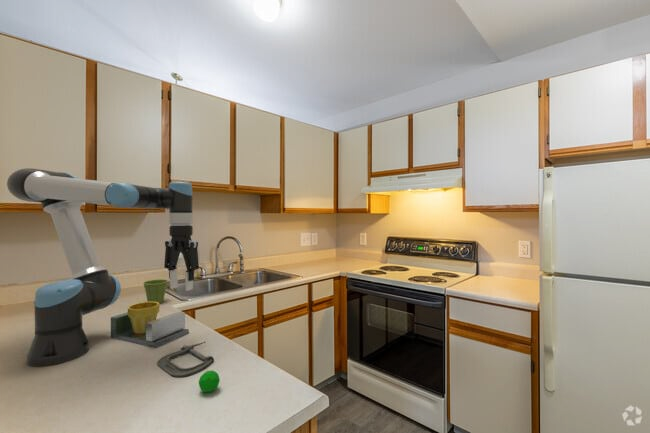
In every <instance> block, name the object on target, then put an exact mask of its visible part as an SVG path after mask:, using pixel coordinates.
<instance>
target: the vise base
mask: <svg viewBox="0 0 650 433" xmlns="http://www.w3.org/2000/svg"><path fill="white" fill-rule="evenodd" d="M189 331H190V330H189V329H188V328H183V329H181V330H179V331H176V332H174V333H171V334H169V335H167V336H164V337H162V338H159V339H157V340H155V341H147V340H146V333H143V334H136V333H134V331H133V327H132V323H131V319H130V317H128V311H126V312H124V313H122V314H118V315H117V314H116V315H114V316H111V317H110V338H112V339H115V340H119V341H120V340H121V341H125V342H130V343H134V344H138V345H143V346H147V347H151V348H155V349H156V348H158V347H161V346H163V345H166V344H168V343H170V342H173V341H174V340H177V339H180V338H181V337H183V336H186V335H188V334H190V332H189Z"/></svg>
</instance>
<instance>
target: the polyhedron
mask: <svg viewBox="0 0 650 433" xmlns="http://www.w3.org/2000/svg"><path fill="white" fill-rule="evenodd" d="M220 381H221V380H220V376H219V373H218V372H217V371H215V370H212V369H210V370H206V371H205V372H204V373H202V374H201V376H200V377H199V380H198V386H199V388H200V391H202V392H203V393H206V392H207V393H212V392H214V391H215V389H217V388H218V387H219V384H220Z"/></svg>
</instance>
